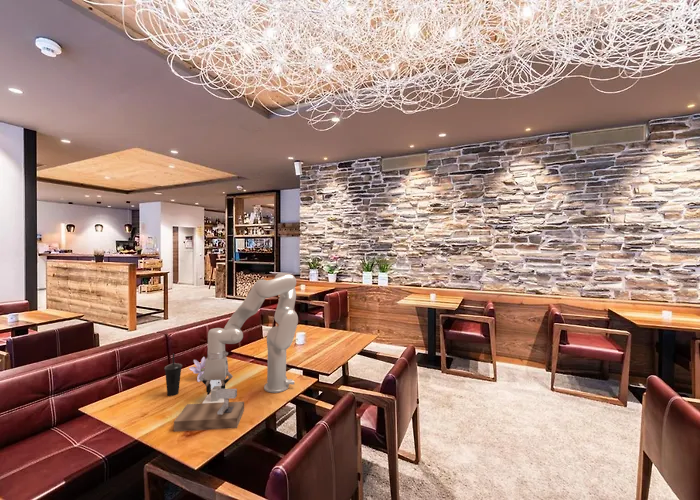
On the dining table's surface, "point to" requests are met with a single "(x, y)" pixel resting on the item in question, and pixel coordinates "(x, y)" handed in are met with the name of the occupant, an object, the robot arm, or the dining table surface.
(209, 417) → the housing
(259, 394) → the dining table surface
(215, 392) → the cover
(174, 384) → the drinking cup
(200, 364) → the water lily
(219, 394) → the latch
